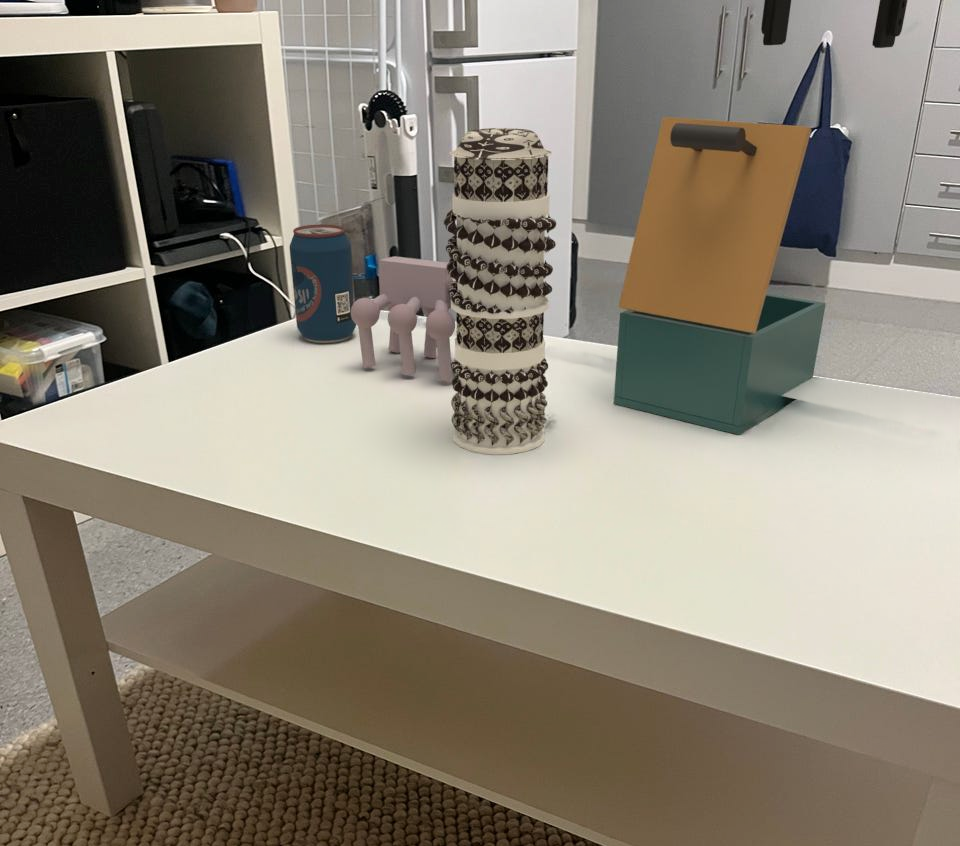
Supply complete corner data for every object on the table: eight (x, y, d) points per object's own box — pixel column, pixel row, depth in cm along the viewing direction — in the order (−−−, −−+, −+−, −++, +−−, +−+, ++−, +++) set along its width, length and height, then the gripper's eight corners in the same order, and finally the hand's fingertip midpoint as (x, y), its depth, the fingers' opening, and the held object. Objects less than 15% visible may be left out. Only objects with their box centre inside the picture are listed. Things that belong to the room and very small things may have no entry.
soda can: (286, 336, 120) (275, 229, 113) (332, 325, 124) (324, 221, 118) (322, 348, 116) (312, 237, 109) (369, 336, 120) (362, 228, 113)
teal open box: (691, 366, 110) (700, 282, 105) (810, 391, 103) (826, 302, 98) (613, 403, 100) (619, 312, 95) (739, 435, 92) (753, 338, 88)
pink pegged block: (556, 371, 108) (561, 237, 101) (511, 400, 101) (513, 257, 93) (398, 346, 116) (392, 220, 109) (345, 371, 109) (335, 237, 101)
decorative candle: (460, 460, 87) (455, 139, 74) (439, 423, 95) (431, 126, 82) (561, 451, 89) (574, 136, 76) (533, 416, 97) (541, 123, 83)
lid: (666, 119, 90) (638, 100, 86) (811, 129, 83) (788, 109, 79) (622, 308, 95) (592, 300, 91) (755, 333, 88) (730, 325, 84)
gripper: (1001, -221, 75) (945, 47, 84) (782, -197, 84) (753, 42, 93) (969, -237, 70) (913, 50, 79) (740, -209, 79) (714, 45, 88)
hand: (826, 45), depth 86 cm, fingers open, 9 cm apart
